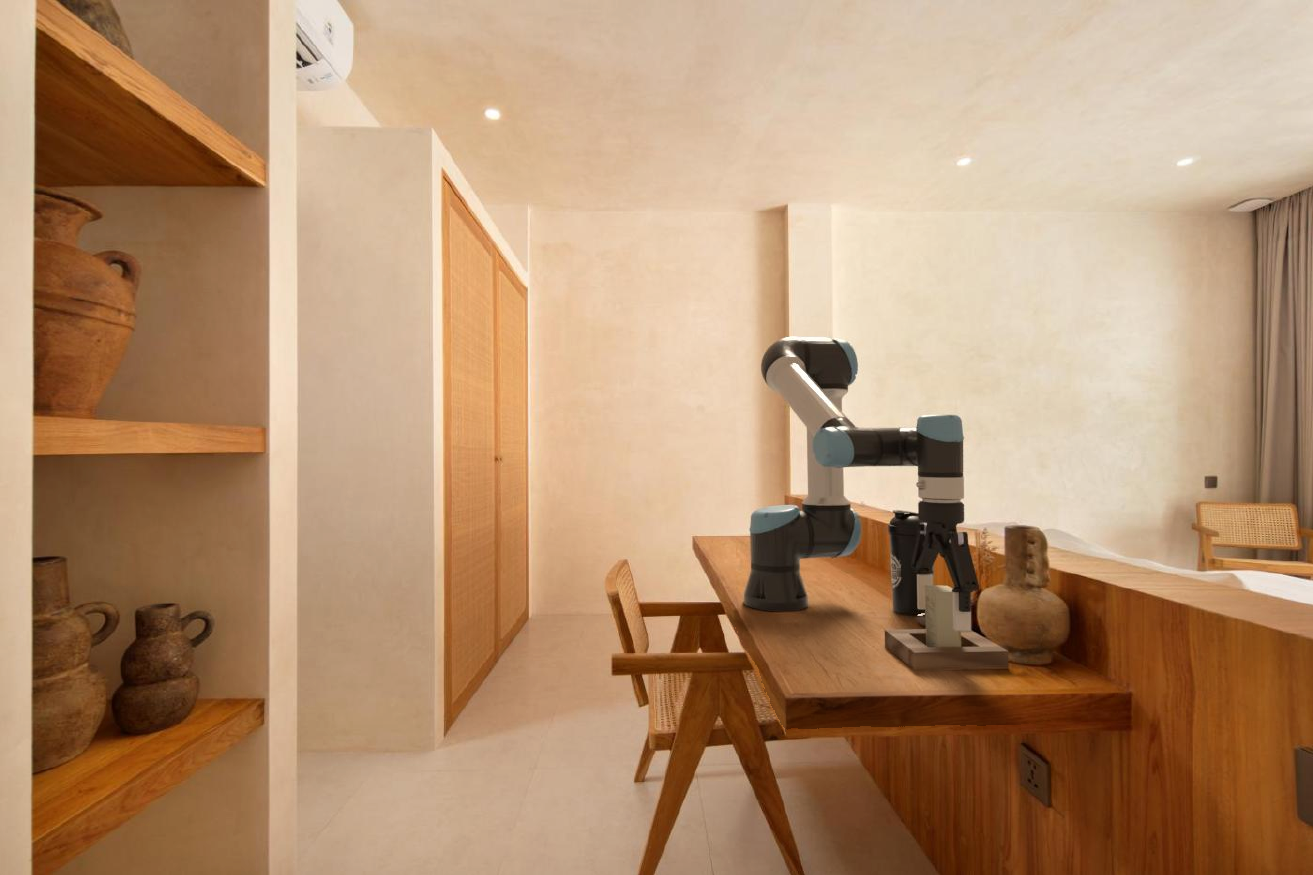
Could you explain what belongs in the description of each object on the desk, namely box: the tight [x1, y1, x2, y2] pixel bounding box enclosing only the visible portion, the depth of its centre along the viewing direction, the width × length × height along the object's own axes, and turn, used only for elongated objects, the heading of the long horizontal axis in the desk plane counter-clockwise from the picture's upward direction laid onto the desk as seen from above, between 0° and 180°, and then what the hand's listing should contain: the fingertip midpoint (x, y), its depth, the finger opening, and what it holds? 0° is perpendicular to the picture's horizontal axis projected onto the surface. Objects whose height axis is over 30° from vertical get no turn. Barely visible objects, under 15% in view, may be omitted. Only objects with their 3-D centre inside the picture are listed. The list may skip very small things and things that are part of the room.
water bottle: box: [887, 509, 935, 617], centre depth 141 cm, size 10×10×23 cm
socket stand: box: [884, 628, 1010, 671], centre depth 111 cm, size 13×16×3 cm
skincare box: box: [924, 584, 961, 647], centre depth 111 cm, size 6×4×12 cm
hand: (942, 619), depth 111 cm, fingers open, 13 cm apart
